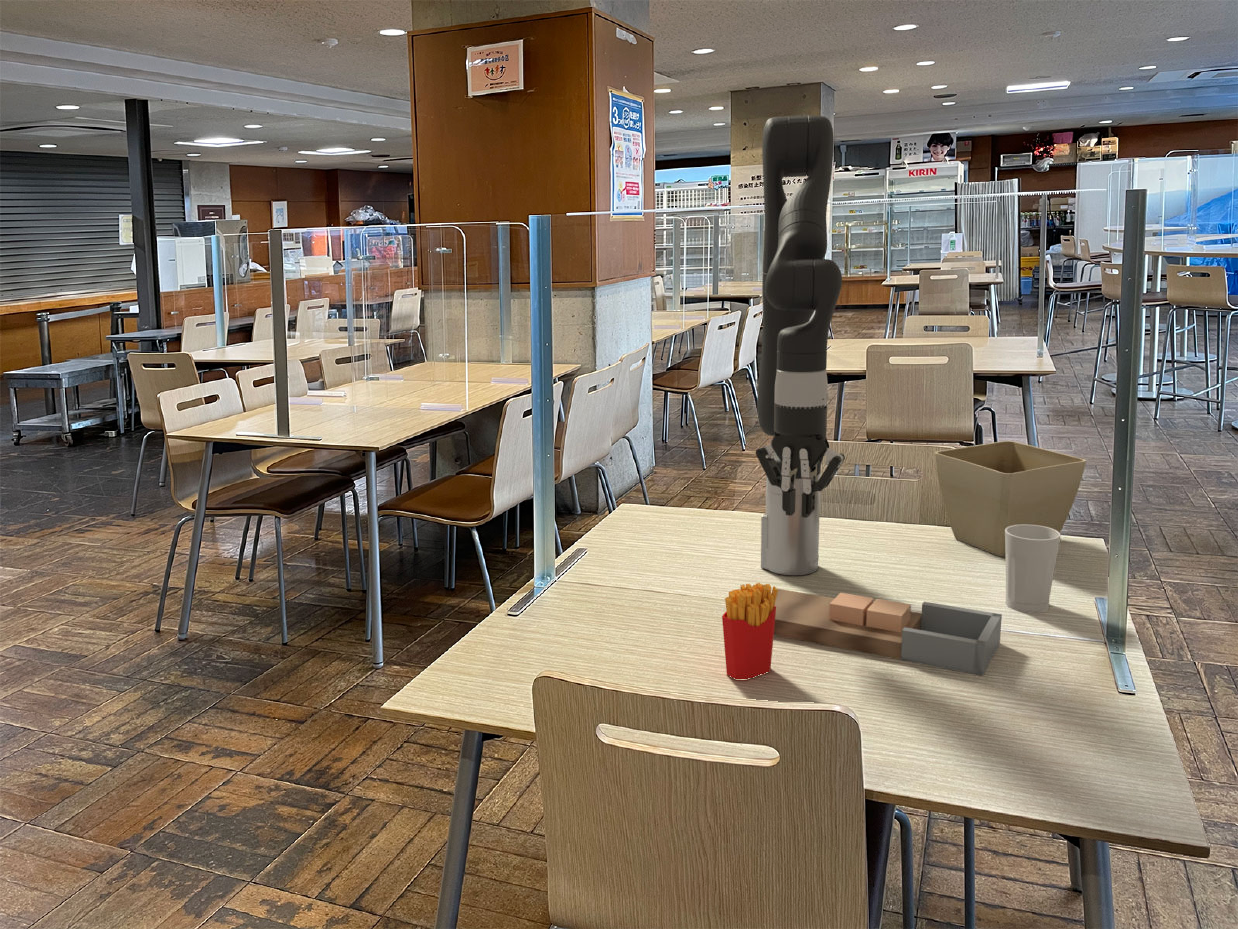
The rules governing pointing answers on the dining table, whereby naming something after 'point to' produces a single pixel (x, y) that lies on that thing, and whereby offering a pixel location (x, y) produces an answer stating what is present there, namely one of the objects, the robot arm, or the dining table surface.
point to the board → (833, 626)
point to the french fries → (749, 630)
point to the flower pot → (1005, 490)
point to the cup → (1030, 566)
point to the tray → (953, 638)
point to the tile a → (850, 608)
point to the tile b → (888, 615)
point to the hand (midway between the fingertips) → (798, 514)
